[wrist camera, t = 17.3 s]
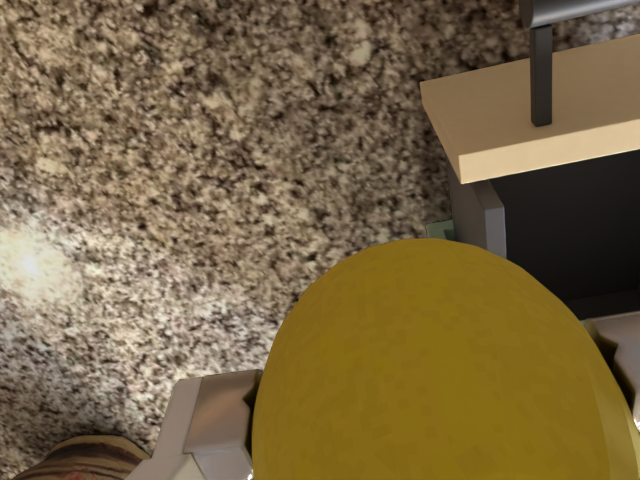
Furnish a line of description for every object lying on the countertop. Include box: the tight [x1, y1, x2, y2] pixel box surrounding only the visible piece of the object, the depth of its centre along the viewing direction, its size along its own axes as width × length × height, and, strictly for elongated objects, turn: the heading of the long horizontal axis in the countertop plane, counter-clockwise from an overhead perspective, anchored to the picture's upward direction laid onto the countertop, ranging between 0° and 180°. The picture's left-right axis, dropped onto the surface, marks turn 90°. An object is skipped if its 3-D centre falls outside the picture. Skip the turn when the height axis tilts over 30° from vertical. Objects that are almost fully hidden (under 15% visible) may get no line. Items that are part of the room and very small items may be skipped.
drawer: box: [420, 0, 640, 321], centre depth 25 cm, size 20×13×9 cm, turn 13°
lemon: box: [252, 238, 640, 480], centre depth 8 cm, size 6×6×8 cm
